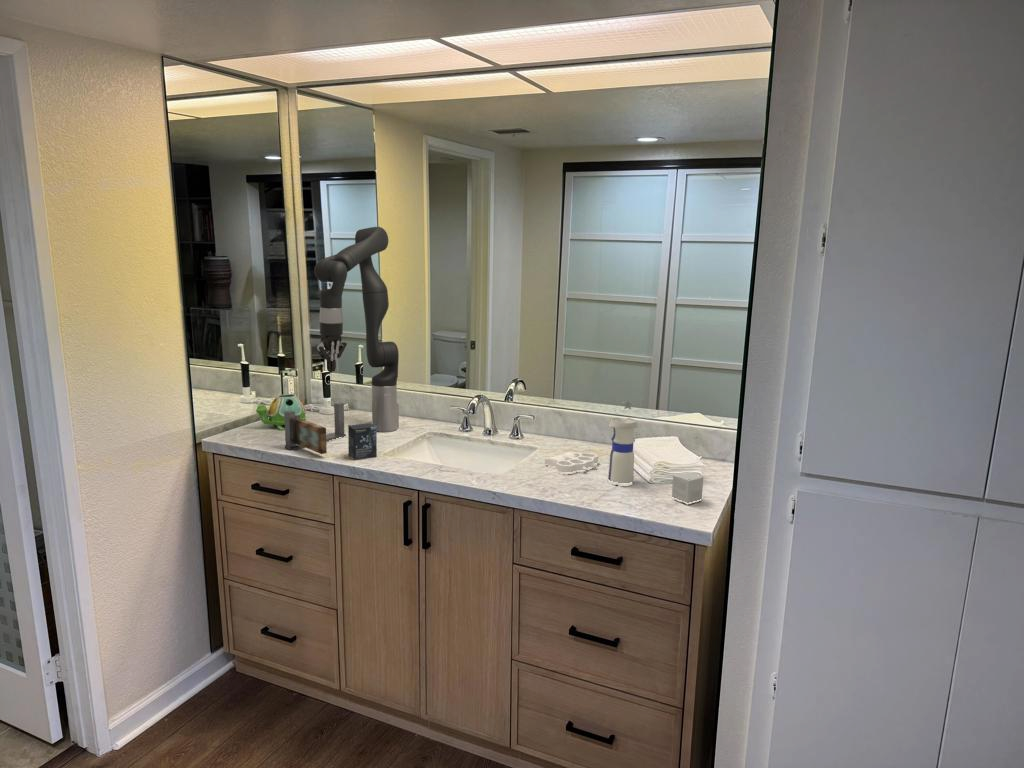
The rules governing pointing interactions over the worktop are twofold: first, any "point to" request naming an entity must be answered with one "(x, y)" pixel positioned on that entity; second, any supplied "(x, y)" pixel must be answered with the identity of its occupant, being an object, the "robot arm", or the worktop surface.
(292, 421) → the gate frame
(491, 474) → the worktop surface
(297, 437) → the gate
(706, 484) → the worktop surface
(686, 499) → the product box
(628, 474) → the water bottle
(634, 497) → the worktop surface
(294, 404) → the turtle holder
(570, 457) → the knuckle duster
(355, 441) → the box
